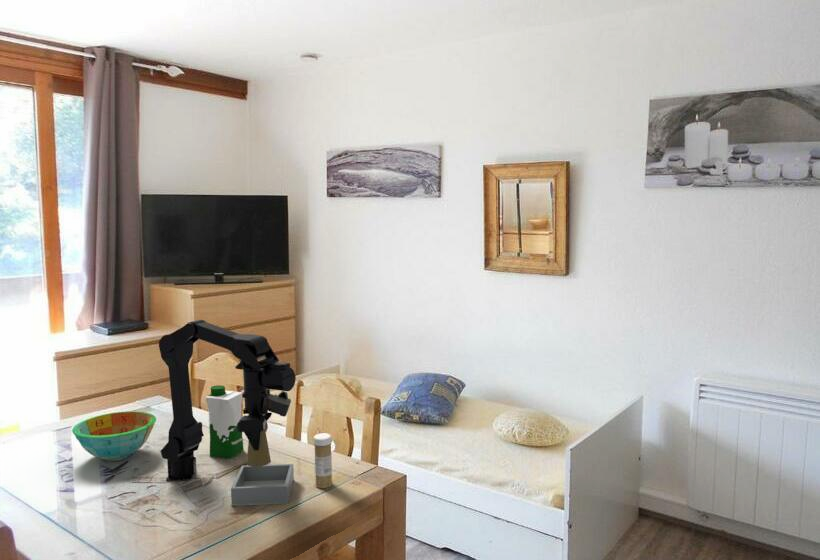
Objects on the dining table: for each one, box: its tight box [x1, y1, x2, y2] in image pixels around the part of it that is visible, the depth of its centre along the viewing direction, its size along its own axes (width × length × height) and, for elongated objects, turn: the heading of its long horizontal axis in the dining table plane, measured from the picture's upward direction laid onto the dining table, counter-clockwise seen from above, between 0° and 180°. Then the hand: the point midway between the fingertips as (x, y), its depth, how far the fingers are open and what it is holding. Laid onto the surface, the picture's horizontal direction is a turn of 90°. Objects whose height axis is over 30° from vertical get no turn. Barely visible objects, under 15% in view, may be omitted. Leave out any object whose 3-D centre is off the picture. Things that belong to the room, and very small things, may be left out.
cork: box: [246, 421, 272, 467], centre depth 161 cm, size 6×6×11 cm
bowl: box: [71, 410, 157, 462], centre depth 186 cm, size 22×22×10 cm
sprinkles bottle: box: [313, 432, 333, 489], centre depth 166 cm, size 5×5×13 cm
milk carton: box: [204, 384, 245, 460], centre depth 187 cm, size 9×9×20 cm
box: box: [230, 463, 295, 507], centre depth 162 cm, size 14×14×4 cm
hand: (258, 446), depth 161 cm, fingers closed on cork, 4 cm apart
